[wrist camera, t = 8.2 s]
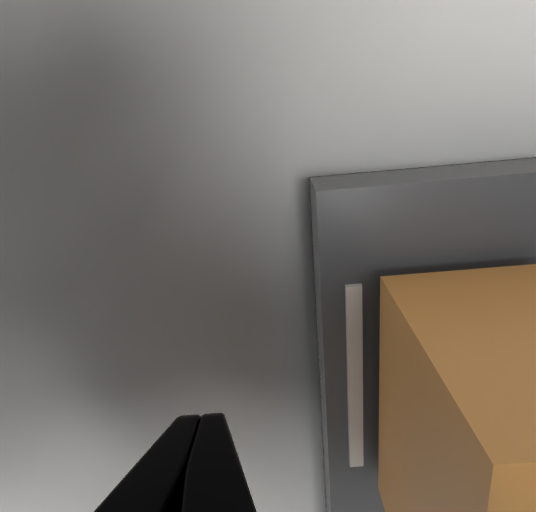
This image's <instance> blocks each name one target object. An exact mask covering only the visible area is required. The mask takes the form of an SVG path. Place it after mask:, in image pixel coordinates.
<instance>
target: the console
mask: <svg viewBox="0 0 536 512" xmlns="http://www.w3.org/2000/svg"><path fill="white" fill-rule="evenodd" d="M309 178H310V197H311V217H312V236H313V256H314V275H315V294H316V314H317V333H318V353H319V372H320V392H321V411H322V431H323V450H324V470H325V489H326V508H327V512H385V510H384V506H383V503H382V499H381V496H380V492H379V488H378V453H379V350H380V276H392V275H405V274H417V273H429V272H442V271H454V270H467V269H479V268H492V267H504V266H516V265H529V264H536V158H526V159H515V160H503V161H492V162H480V163H469V164H457V165H446V166H434V167H423V168H411V169H400V170H388V171H377V172H365V173H354V174H342V175H331V176H319V177H309Z"/></svg>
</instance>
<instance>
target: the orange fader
mask: <svg viewBox="0 0 536 512" xmlns="http://www.w3.org/2000/svg"><path fill="white" fill-rule="evenodd" d="M378 488H379V492H380V496H381V499H382V503H383V506H384V510H385V512H536V264H529V265H516V266H504V267H492V268H479V269H467V270H454V271H442V272H429V273H417V274H405V275H392V276H380V350H379V453H378Z"/></svg>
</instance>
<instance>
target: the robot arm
mask: <svg viewBox="0 0 536 512" xmlns="http://www.w3.org/2000/svg"><path fill="white" fill-rule="evenodd" d="M94 512H256V509H255V506H254V503H253V500H252V497H251V494H250V491H249V488H248V485H247V482H246V479H245V476H244V472H243V469H242V466H241V463H240V460H239V457H238V454H237V451H236V448H235V445H234V442H233V439H232V436H231V433H230V430H229V427H228V424H227V421H226V418H225V415H224V414H223V413H211V414H204V415H202V417H201V416H200V415H183V416H179V417H178V418H176V419H175V421H174V422H173V423H172V424H171V425H170V426H169V427H168V428H167V430H166V431H165V432H164V433H163V434H162V435H161V436H160V437H159V439H158V440H157V441H156V442H155V443H154V444H153V445H152V447H151V448H150V449H149V450H148V451H147V452H146V453H145V454H144V456H143V457H142V458H141V459H140V460H139V461H138V462H137V463H136V465H135V466H134V467H133V468H132V469H131V470H130V471H129V473H128V474H127V475H126V476H125V477H124V478H123V479H122V480H121V482H120V483H119V484H118V485H117V486H116V487H115V488H114V490H113V491H112V492H111V493H110V494H109V495H108V496H107V497H106V499H105V500H104V501H103V502H102V503H101V504H100V505H99V506H98V508H97V509H96V510H95V511H94Z"/></svg>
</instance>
